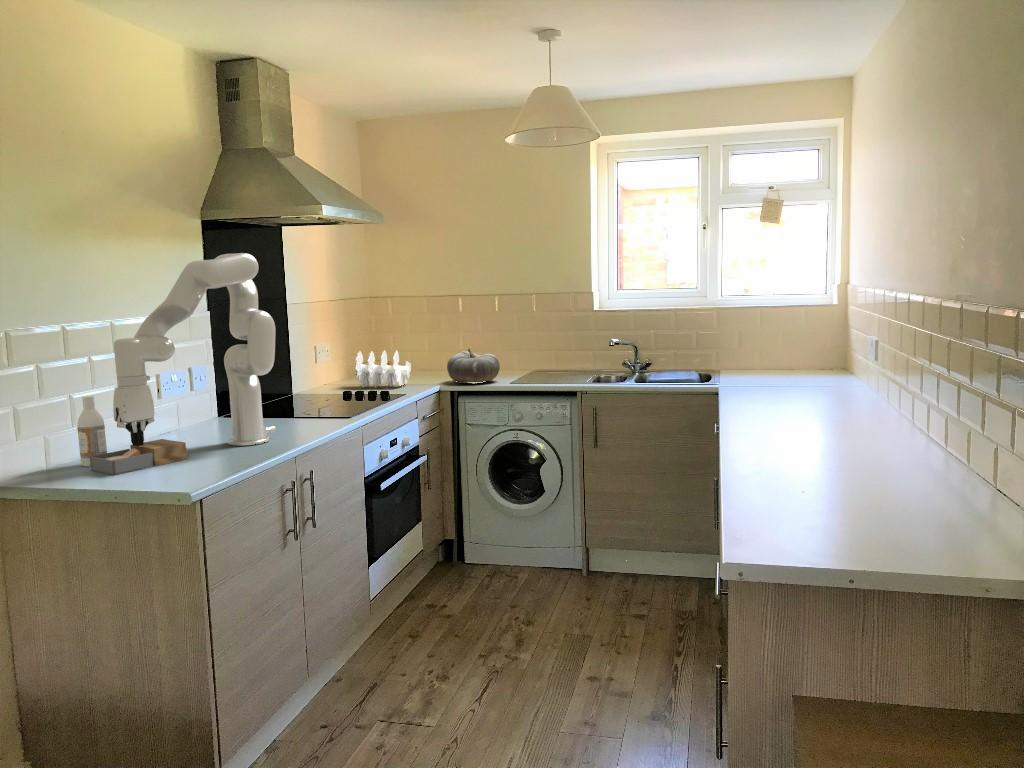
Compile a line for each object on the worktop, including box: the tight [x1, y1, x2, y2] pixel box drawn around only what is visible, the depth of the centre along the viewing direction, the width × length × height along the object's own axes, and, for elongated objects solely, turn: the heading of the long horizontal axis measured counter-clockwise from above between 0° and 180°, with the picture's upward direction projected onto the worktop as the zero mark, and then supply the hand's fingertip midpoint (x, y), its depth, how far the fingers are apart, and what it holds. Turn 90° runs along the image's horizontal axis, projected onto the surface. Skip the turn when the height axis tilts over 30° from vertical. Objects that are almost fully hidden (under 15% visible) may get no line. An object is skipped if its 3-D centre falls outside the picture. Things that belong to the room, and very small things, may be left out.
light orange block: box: [105, 456, 126, 460], centre depth 225 cm, size 4×4×3 cm
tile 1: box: [122, 448, 141, 458], centre depth 228 cm, size 4×4×3 cm
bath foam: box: [76, 395, 108, 468], centre depth 232 cm, size 7×7×20 cm
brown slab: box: [129, 438, 188, 467], centre depth 235 cm, size 10×12×5 cm
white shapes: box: [354, 349, 412, 389], centre depth 383 cm, size 18×18×25 cm
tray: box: [90, 448, 155, 476], centre depth 226 cm, size 12×12×4 cm
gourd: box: [446, 348, 501, 383], centre depth 390 cm, size 25×25×17 cm
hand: (138, 445), depth 230 cm, fingers closed
